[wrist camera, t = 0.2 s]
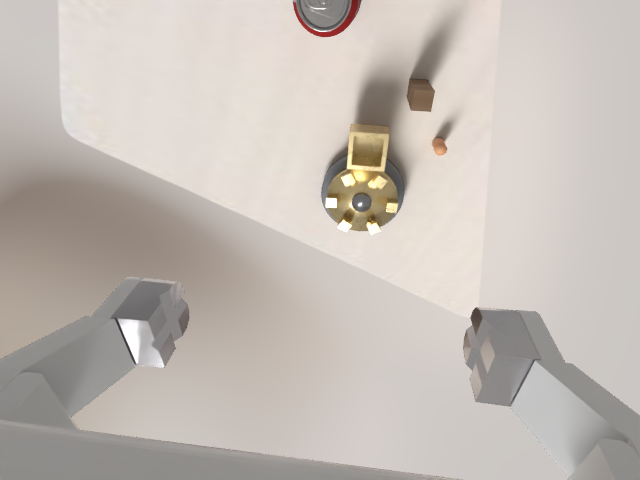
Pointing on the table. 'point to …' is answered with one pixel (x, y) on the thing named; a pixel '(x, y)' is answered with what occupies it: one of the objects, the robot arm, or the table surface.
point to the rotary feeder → (364, 182)
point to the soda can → (326, 15)
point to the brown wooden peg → (420, 95)
